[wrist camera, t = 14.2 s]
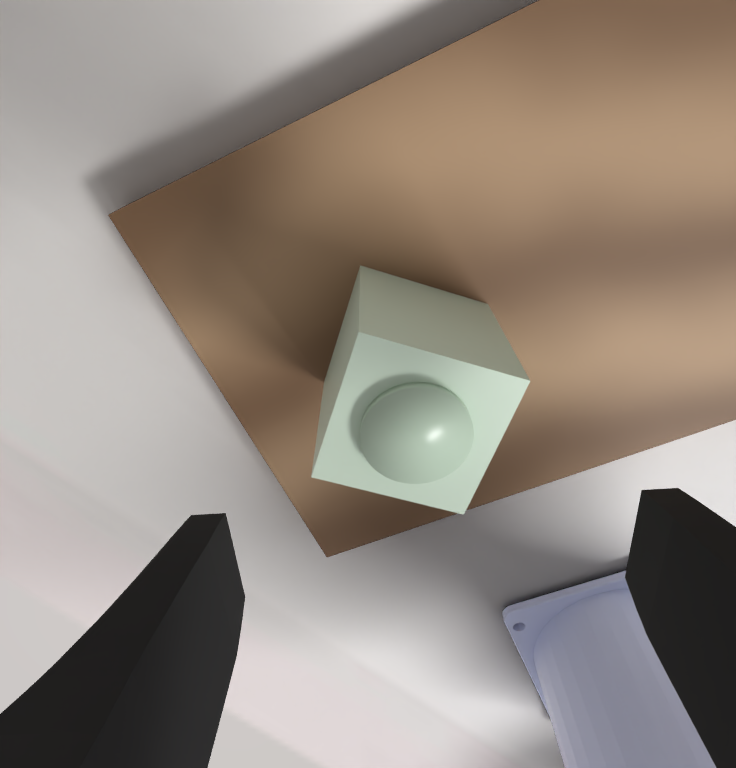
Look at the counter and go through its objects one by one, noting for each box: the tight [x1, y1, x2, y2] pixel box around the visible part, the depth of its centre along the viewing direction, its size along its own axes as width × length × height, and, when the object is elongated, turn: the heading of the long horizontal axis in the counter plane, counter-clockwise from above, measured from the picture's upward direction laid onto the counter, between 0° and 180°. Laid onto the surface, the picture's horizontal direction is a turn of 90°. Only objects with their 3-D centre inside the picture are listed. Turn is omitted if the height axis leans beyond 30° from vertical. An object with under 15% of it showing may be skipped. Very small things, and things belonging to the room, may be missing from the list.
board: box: [108, 0, 736, 557], centre depth 18 cm, size 14×20×1 cm
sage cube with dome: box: [311, 265, 530, 515], centre depth 15 cm, size 4×4×5 cm
